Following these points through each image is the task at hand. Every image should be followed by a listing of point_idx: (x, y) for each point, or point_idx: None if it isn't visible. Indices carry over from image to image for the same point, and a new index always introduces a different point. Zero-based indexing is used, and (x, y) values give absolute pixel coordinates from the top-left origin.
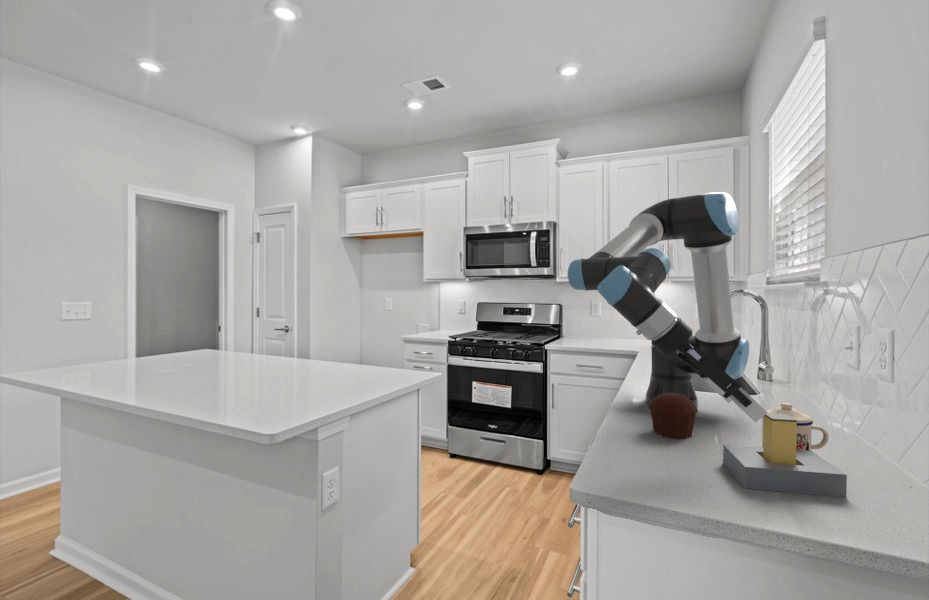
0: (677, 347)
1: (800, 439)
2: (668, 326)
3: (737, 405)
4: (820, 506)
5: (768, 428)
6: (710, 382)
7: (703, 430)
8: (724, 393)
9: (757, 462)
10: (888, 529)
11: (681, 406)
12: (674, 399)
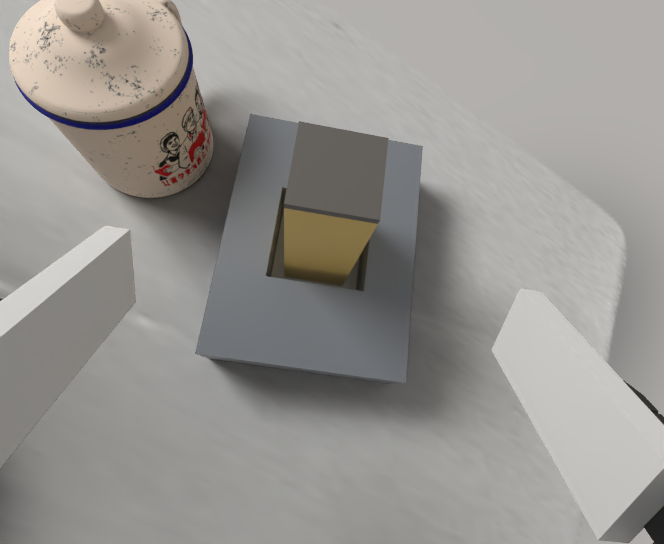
0: None
1: (200, 100)
2: None
3: (546, 441)
4: (460, 258)
5: (331, 234)
6: (18, 422)
7: None
8: (104, 316)
9: (363, 323)
10: (532, 199)
11: None
12: None
